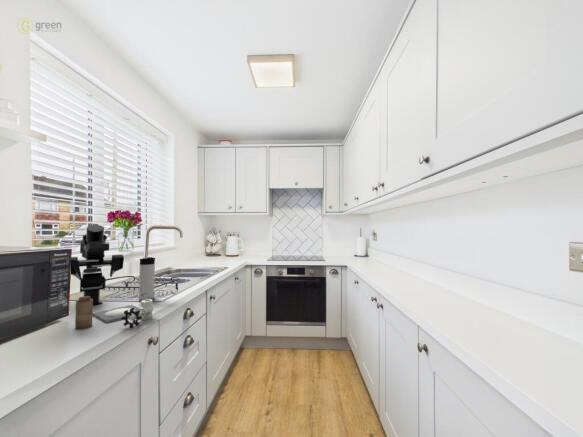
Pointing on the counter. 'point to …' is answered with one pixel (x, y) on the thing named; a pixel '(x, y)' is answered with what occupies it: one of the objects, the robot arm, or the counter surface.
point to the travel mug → (146, 278)
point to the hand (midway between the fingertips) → (96, 277)
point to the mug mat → (114, 313)
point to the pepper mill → (84, 313)
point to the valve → (139, 313)
